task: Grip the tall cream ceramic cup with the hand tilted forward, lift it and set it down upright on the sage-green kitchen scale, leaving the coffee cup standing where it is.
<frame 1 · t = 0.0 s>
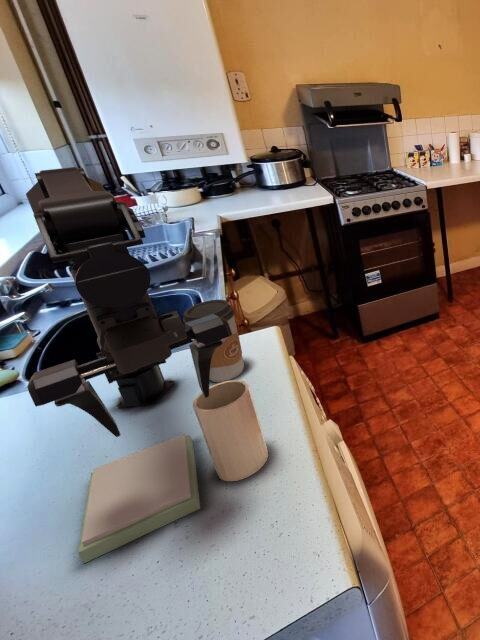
hand: (164, 415, 55), 15 cm above the countertop, tool pointing down, fingers open, 9 cm apart
cream cup: (243, 463, 67), on the countertop
coffee cup: (227, 374, 89), on the countertop
kitchen scale: (146, 495, 62), on the countertop
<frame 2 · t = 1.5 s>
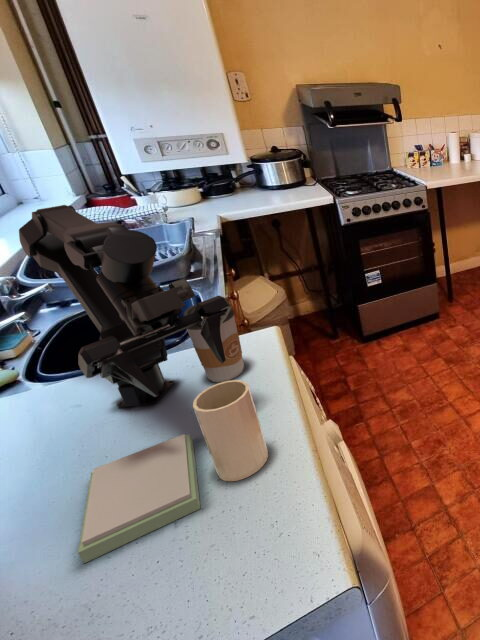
hand: (192, 377, 66), 13 cm above the countertop, tool tilted 45°, fingers open, 9 cm apart
nothing on the countertop moved.
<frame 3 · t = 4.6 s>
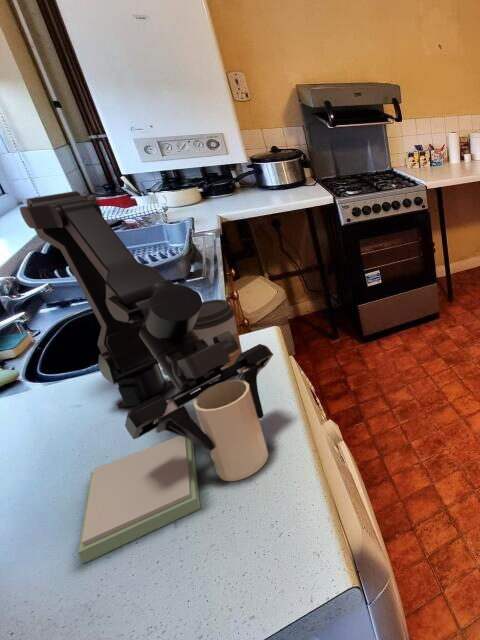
hand: (238, 432, 64), 7 cm above the countertop, tool tilted 45°, fingers closed on cream cup, 7 cm apart
cream cup: (243, 462, 67), on the countertop, touching gripper
everything else where it was.
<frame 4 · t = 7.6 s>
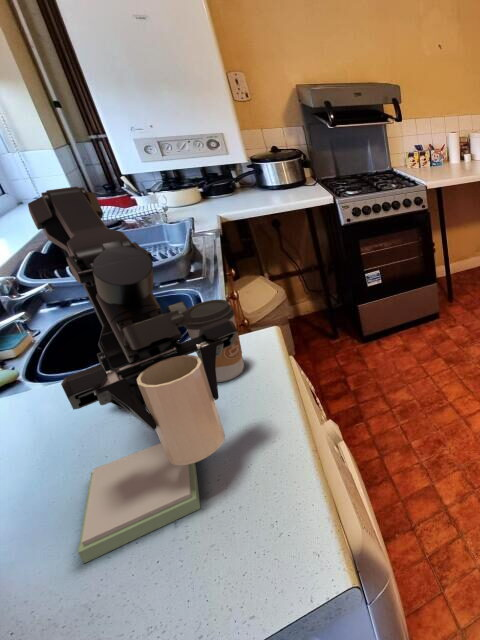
hand: (187, 413, 59), 13 cm above the countertop, tool tilted 45°, fingers closed on cream cup, 7 cm apart
cream cup: (197, 446, 62), point 7 cm above the countertop, touching gripper
everything else where it was.
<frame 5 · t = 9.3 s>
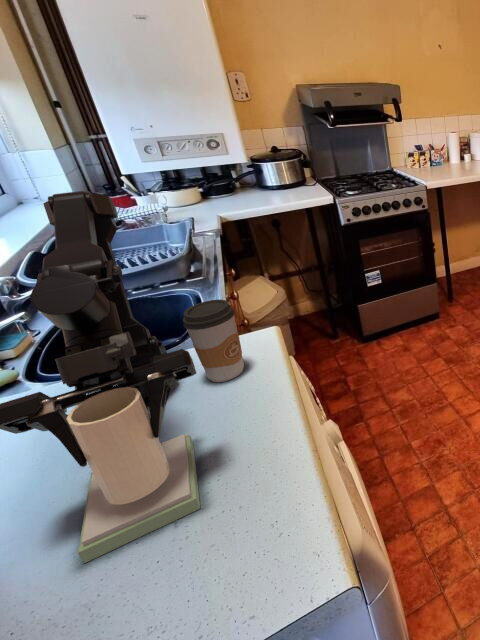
hand: (121, 451, 55), 11 cm above the countertop, tool tilted 45°, fingers closed on cream cup, 7 cm apart
cream cup: (138, 482, 59), point 5 cm above the countertop, touching gripper
everything else where it was.
when the fingers open (9 cm above the countertop, at t = 10.6 s): cream cup stays where it is, resting on kitchen scale.
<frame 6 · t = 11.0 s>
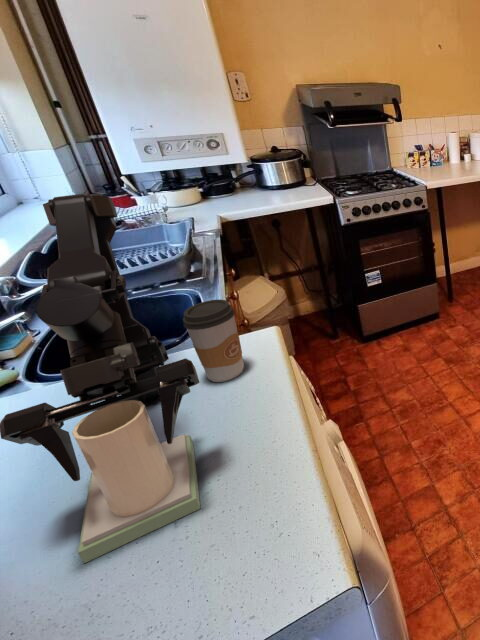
hand: (125, 461, 56), 10 cm above the countertop, tool tilted 45°, fingers open, 9 cm apart
cream cup: (143, 493, 59), point 3 cm above the countertop, touching kitchen scale
everything else where it was.
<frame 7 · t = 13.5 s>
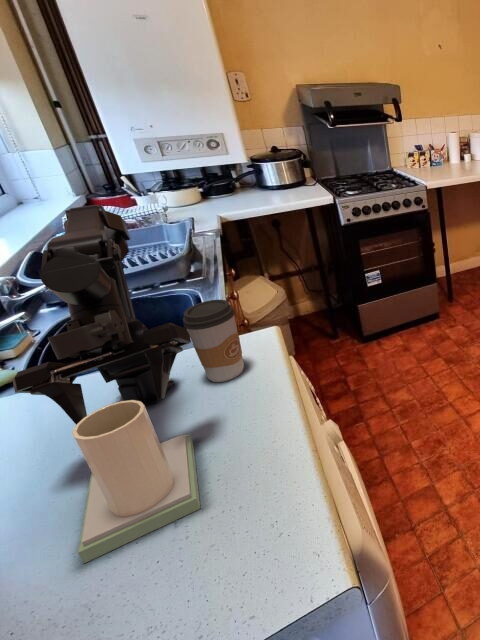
hand: (123, 413, 62), 11 cm above the countertop, tool tilted 40°, fingers open, 9 cm apart
nothing on the countertop moved.
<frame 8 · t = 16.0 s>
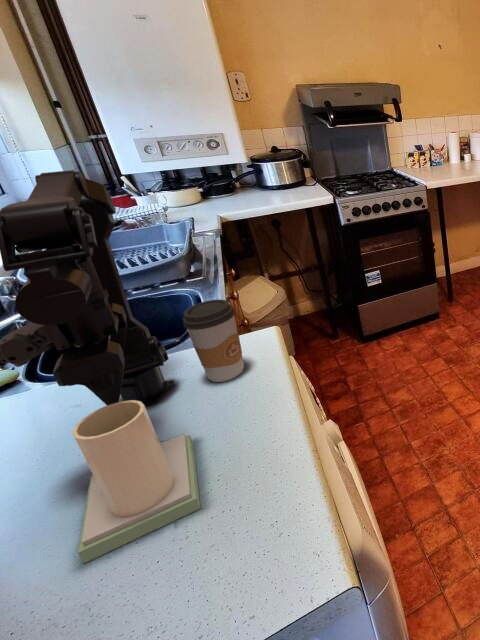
hand: (115, 388, 64), 13 cm above the countertop, tool pointing down, fingers open, 9 cm apart
nothing on the countertop moved.
at the end: cream cup inside the target area on the kitchen scale (1.6 cm from its centre), point 2.8 cm above the kitchen scale's base; cream cup tilted 0°; coffee cup moved 0.2 cm from its start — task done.
